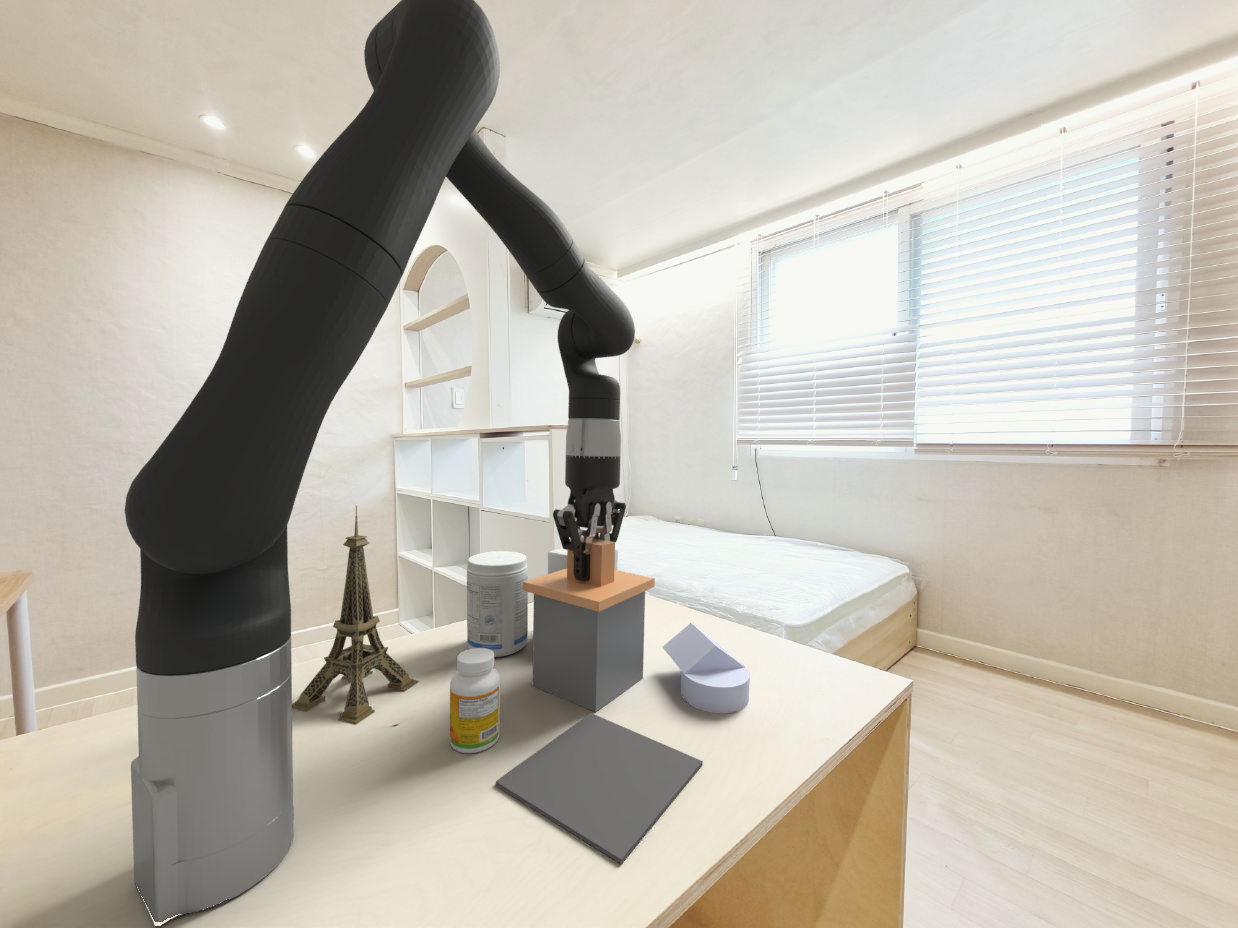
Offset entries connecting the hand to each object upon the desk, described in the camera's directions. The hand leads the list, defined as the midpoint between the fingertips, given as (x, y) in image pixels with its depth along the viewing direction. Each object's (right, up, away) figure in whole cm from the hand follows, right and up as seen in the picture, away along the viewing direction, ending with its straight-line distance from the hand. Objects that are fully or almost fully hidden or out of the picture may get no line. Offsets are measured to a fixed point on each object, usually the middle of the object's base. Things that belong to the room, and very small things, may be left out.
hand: (590, 576), depth 68 cm
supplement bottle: (-12, -16, -13) cm, 24 cm away
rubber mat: (+2, -16, -18) cm, 24 cm away
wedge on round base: (+16, -16, 0) cm, 23 cm away
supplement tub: (-16, -14, +12) cm, 24 cm away
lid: (0, -3, 0) cm, 3 cm away
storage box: (0, -15, +1) cm, 15 cm away
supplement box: (-2, -14, +17) cm, 22 cm away
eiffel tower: (-30, -15, -4) cm, 34 cm away
